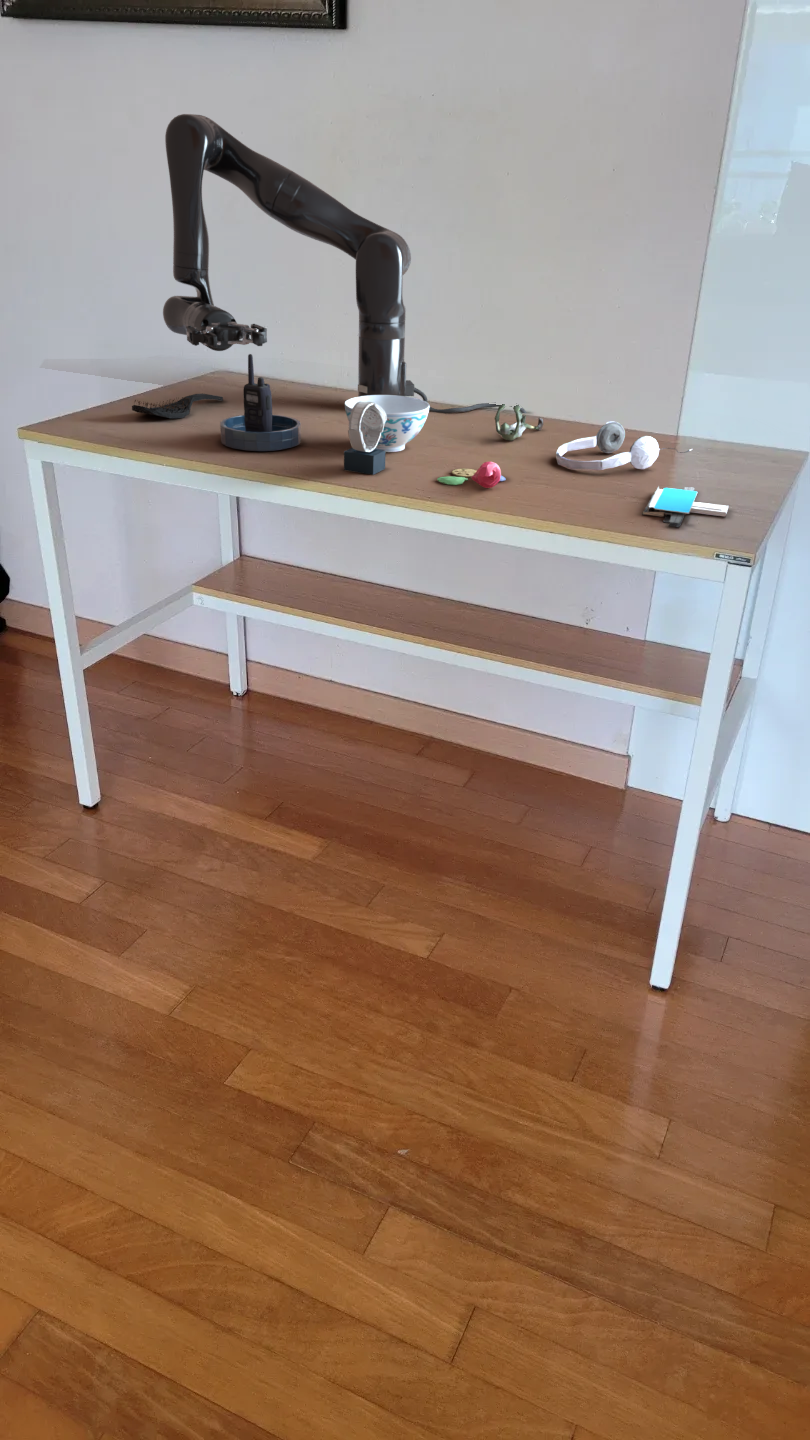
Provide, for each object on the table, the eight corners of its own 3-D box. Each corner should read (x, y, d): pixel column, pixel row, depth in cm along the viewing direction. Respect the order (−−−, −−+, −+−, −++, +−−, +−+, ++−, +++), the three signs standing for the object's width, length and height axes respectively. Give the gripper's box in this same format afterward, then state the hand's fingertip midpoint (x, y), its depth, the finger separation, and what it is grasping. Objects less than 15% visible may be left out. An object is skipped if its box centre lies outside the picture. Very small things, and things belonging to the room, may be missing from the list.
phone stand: (720, 533, 155) (722, 522, 154) (637, 522, 158) (639, 511, 157) (731, 496, 171) (733, 486, 171) (656, 487, 175) (658, 477, 174)
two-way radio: (241, 440, 192) (237, 353, 185) (257, 436, 196) (254, 350, 189) (264, 445, 190) (262, 357, 183) (280, 441, 193) (278, 354, 186)
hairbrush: (236, 388, 219) (154, 403, 200) (237, 407, 221) (155, 423, 201) (205, 384, 223) (120, 398, 203) (205, 402, 225) (121, 417, 205)
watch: (390, 466, 181) (391, 399, 176) (368, 477, 175) (369, 408, 170) (361, 461, 183) (361, 395, 178) (338, 472, 177) (338, 404, 172)
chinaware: (373, 433, 201) (373, 391, 198) (442, 445, 195) (444, 402, 191) (327, 449, 190) (327, 405, 186) (400, 463, 183) (401, 417, 180)
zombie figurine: (546, 394, 204) (515, 410, 193) (543, 430, 208) (511, 447, 196) (521, 390, 206) (488, 405, 195) (517, 426, 210) (485, 442, 198)
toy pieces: (524, 482, 175) (526, 455, 173) (478, 495, 168) (480, 467, 166) (470, 467, 182) (472, 441, 180) (424, 478, 175) (425, 451, 173)
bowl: (296, 432, 200) (296, 413, 199) (304, 452, 188) (304, 432, 186) (220, 433, 198) (219, 414, 196) (222, 453, 185) (221, 433, 184)
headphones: (639, 441, 197) (542, 466, 192) (639, 410, 194) (540, 435, 189) (694, 466, 182) (590, 493, 178) (694, 433, 179) (588, 460, 175)
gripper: (175, 307, 202) (198, 320, 189) (247, 305, 208) (275, 318, 195) (177, 348, 206) (201, 364, 193) (248, 346, 211) (276, 360, 199)
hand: (238, 341), depth 194 cm, fingers open, 8 cm apart
